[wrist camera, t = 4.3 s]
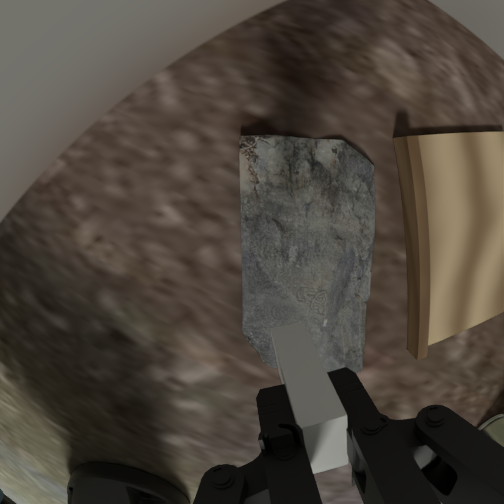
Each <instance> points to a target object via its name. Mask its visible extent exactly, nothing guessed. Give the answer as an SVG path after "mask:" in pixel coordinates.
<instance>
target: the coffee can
mask: <svg viewBox="0 0 504 504" xmlns="http://www.w3.org/2000/svg"><path fill="white" fill-rule="evenodd" d="M477 429H479V430H480V431H482V432H483V433H484V434H486V435H487V436H489V437H490V438H492V439H493V440H494V441H496V442H497V443H499V444H500V445H502V446H503V447H504V414H498V415H496V416H494V417H492V418H490V419H489V420H487V421H486V422H485V423H483V424H482V425H481V426H480V427H479V428H477Z"/></svg>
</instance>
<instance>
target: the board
mask: <svg viewBox="0 0 504 504" xmlns="http://www.w3.org/2000/svg"><path fill="white" fill-rule="evenodd" d="M393 141H394V147H395V153H396V159H397V166H398V173H399V180H400V188H401V196H402V205H403V215H404V226H405V239H406V255H407V279H408V336H407V350H408V351H409V352H410V353H411V354H412V355H413V356H414V357H415V358H416V359H417V360H420V359H422V358H425V357H427V350H428V345H431V344H433V343H436V342H438V341H441V340H443V339H446V338H448V337H450V336H453V335H455V334H457V333H460V332H462V331H464V330H466V329H469V328H471V327H473V326H475V325H477V324H479V323H482V322H484V321H486V320H488V319H490V318H492V317H494V316H496V315H498V314H500V313H502V312H504V132H469V133H449V134H433V135H420V136H418V135H416V136H405V137H397V138H393Z"/></svg>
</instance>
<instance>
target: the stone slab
mask: <svg viewBox="0 0 504 504" xmlns="http://www.w3.org/2000/svg"><path fill="white" fill-rule="evenodd" d="M239 154H240V195H241V238H242V299H243V326H242V331H243V335H244V336H245V337H246V340H247V341H249V343H250V344H251V346H253V347H254V348H255V350H256V351H257V352H258V353H259V354H260V356H261V359H262V360H263V362H264V363H265V364H267V365H269V366H271V367H272V368H273V367H275V368H278V364H277V359H276V354H275V349H274V344H273V340H272V335H271V330H270V329H272V328H276V327H280V326H285V325H289V324H293V323H297V322H301V321H302V323H303V325H304V327H305V329H306V331H307V333H308V335H309V337H310V339H311V341H312V344H313V346H314V348H315V350H316V352H317V354H318V356H319V358H320V360H321V362H322V364H323V366H324V368H325V370H326V372H330V371H334V370H337V369H341V368H344V367H347V368H349V369H350V370H352V371H353V372H355V373H356V372H361V370H362V364H363V355H364V345H365V325H366V302H367V301H368V299H369V296H370V283H371V266H372V251H373V245H374V235H375V185H374V169H375V166H374V165H372V164H371V162H370V161H369V160H368V159H366V158H365V157H364V156H363V155H361V154H360V153H359V152H358V151H356V150H355V149H354V148H352V147H351V146H350V145H348V144H347V143H346V142H345V141H343V140H333V139H311V138H298V137H292V136H279V135H255V136H240V150H239Z"/></svg>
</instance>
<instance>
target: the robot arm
mask: <svg viewBox="0 0 504 504" xmlns="http://www.w3.org/2000/svg"><path fill="white" fill-rule="evenodd" d="M270 330H271V335H272V340H273V344H274V349H275V354H276V359H277V364H278V369H279V373H280V377H281V381H282V385H278V386H273V387H269V388H264V389H260V391H259V393H258V395H257V398H256V401H257V408H258V415H259V421H260V428H261V432H260V434H259V438H258V441H259V445H260V448H261V453H260V454H259V456H258V457H257V458H256V459H255V460H253V461H252V462H250V463H248V464H246V465H243V466H241V467H239V468H237V467H236V466H234V465H229V464H223V465H217V466H215V467H212V468H211V469H209V470H208V471H207V472H205V474H204V476H203V477H202V479H201V482H200V485H199V488H198V491H197V494H196V497H195V500H194V502H193V504H322V501H321V498H320V494H319V491H318V488H317V484H316V481H315V478H314V473H318V472H322V471H326V470H329V469H333V468H336V467H340V466H343V465H346V464H348V458H349V460H350V462H351V465H352V486H353V485H355V483H356V485H357V488H358V490H359V493H360V495H361V498H362V500H363V503H364V504H441V503H440V502H442V503H443V504H504V447H503V446H502V445H500V444H499V443H497V442H496V441H494V440H493V439H492V438H490V437H489V436H487V435H486V434H484V433H483V432H482V431H480V430H479V429H477V428H476V427H475V426H473V425H472V424H470V423H469V422H467V421H466V420H465V419H463V418H462V417H460V416H459V415H458V414H456V413H455V412H453V411H452V410H451V409H449V408H447V407H445V406H443V405H430V406H427V407H425V408H423V409H422V410H421V411H420V412H419V413H418V414H417V417H416V418H412V419H404V420H393V419H389V418H388V417H387V416H386V415H383V414H381V413H380V412H379V411H378V410H377V408H376V406H375V405H374V403H373V401H372V400H371V398H370V396H369V395H368V393H367V391H366V390H365V389H364V386H363V385H362V383H361V382H360V380H359V378H358V376H357V375H356V373H355V372H353V371H352V370H350V369H349V368H347V367H344V368H341V369H337V370H334V371H330V372H326V370H325V368H324V366H323V364H322V362H321V360H320V358H319V356H318V354H317V352H316V350H315V348H314V346H313V344H312V341H311V339H310V337H309V335H308V333H307V331H306V329H305V327H304V325H303V323H302V321H301V322H297V323H293V324H289V325H285V326H280V327H276V328H272V329H270ZM67 494H68V504H189V501H188V500H187V498H186V497H185V496H184V495H183V493H181V492H180V491H179V490H178V489H177V488H175V487H174V486H172V485H171V484H169V483H167V482H165V481H163V480H161V479H159V478H157V477H155V476H153V475H150V474H148V473H145V472H142V471H139V470H136V469H133V468H129V467H125V466H120V465H115V464H108V463H88V464H83V465H80V466H78V467H77V468H75V469H74V470H73V472H72V474H71V477H70V480H69V482H68V486H67ZM0 504H16V503H15V502H14V501H12V500H11V499H10V498H9V497H7V496H6V495H5V494H4V493H3V491H2V490H1V489H0Z"/></svg>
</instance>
